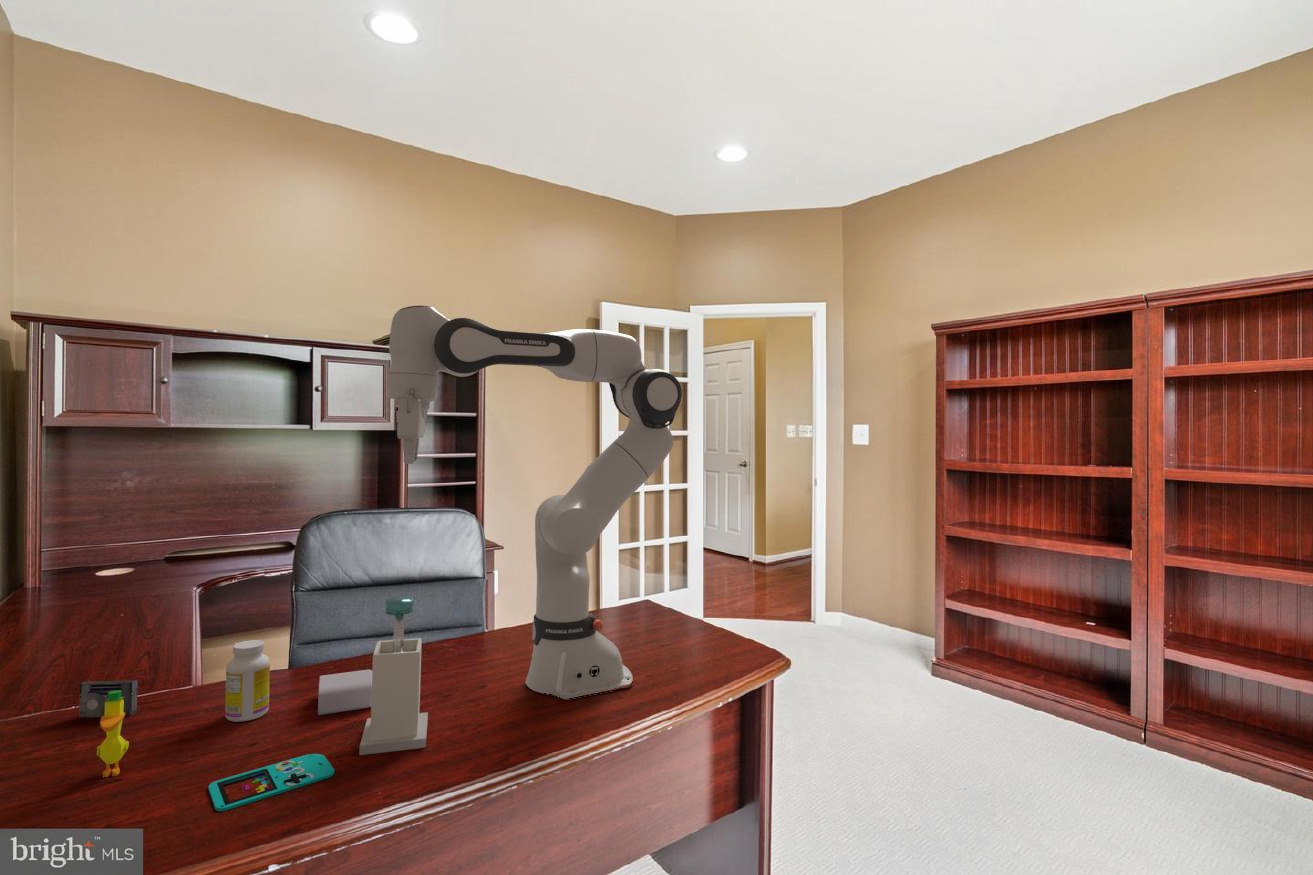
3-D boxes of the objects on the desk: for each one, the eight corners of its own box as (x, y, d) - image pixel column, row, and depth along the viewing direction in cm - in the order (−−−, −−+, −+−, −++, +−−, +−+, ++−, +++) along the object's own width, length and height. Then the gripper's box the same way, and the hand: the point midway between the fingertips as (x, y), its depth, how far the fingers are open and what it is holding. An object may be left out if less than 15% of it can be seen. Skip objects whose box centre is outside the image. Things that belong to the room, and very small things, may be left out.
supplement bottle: (269, 704, 118) (271, 636, 118) (267, 718, 112) (270, 647, 112) (226, 710, 115) (228, 640, 115) (222, 726, 109) (224, 652, 109)
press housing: (427, 720, 114) (430, 635, 114) (425, 747, 104) (428, 654, 104) (367, 726, 111) (369, 638, 110) (359, 755, 101) (362, 659, 101)
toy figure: (122, 782, 91) (124, 699, 91) (89, 788, 89) (91, 704, 89) (130, 760, 97) (132, 683, 97) (100, 766, 95) (102, 687, 95)
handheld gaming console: (336, 770, 95) (216, 808, 85) (336, 777, 95) (216, 816, 85) (320, 748, 101) (207, 781, 91) (320, 755, 101) (207, 788, 91)
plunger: (413, 663, 110) (415, 595, 110) (411, 673, 106) (414, 602, 106) (383, 665, 109) (385, 596, 109) (380, 676, 104) (383, 604, 104)
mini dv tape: (136, 712, 113) (137, 679, 113) (131, 716, 112) (132, 682, 112) (85, 714, 112) (86, 680, 112) (78, 717, 110) (79, 683, 110)
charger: (406, 704, 121) (317, 717, 114) (401, 686, 129) (318, 697, 122) (407, 679, 121) (318, 691, 114) (402, 663, 129) (319, 673, 122)
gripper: (428, 388, 112) (425, 465, 112) (432, 393, 132) (430, 459, 132) (389, 386, 110) (387, 465, 110) (399, 392, 130) (397, 459, 130)
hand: (410, 462), depth 121 cm, fingers open, 8 cm apart
